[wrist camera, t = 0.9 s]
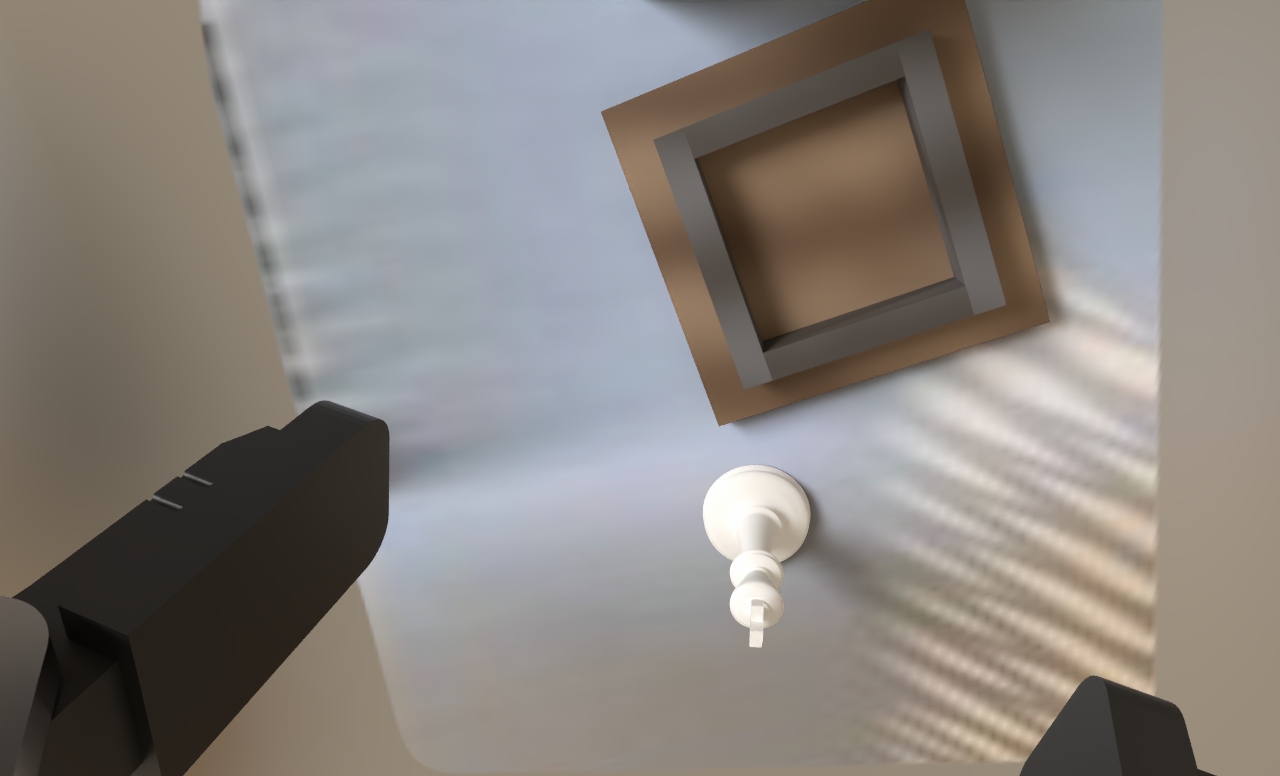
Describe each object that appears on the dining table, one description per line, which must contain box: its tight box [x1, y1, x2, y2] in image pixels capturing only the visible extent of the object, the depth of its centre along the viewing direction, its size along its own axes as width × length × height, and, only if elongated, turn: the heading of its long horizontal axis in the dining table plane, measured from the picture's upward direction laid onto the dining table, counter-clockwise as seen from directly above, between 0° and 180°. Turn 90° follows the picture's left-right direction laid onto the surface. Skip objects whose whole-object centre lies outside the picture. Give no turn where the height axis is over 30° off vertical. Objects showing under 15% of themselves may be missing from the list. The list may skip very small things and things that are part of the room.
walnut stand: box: [601, 0, 1050, 426], centre depth 34 cm, size 14×14×3 cm
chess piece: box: [703, 465, 811, 647], centre depth 35 cm, size 5×5×10 cm
